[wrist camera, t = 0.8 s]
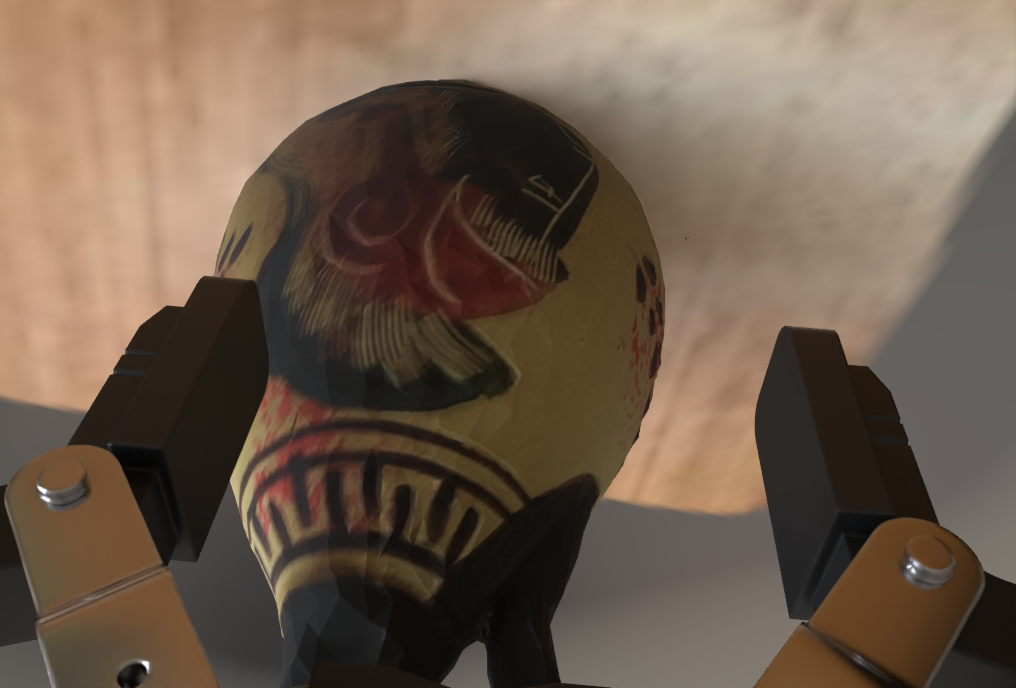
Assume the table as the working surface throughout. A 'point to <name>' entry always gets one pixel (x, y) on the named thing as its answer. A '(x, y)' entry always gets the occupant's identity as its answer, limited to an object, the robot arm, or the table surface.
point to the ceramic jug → (438, 374)
